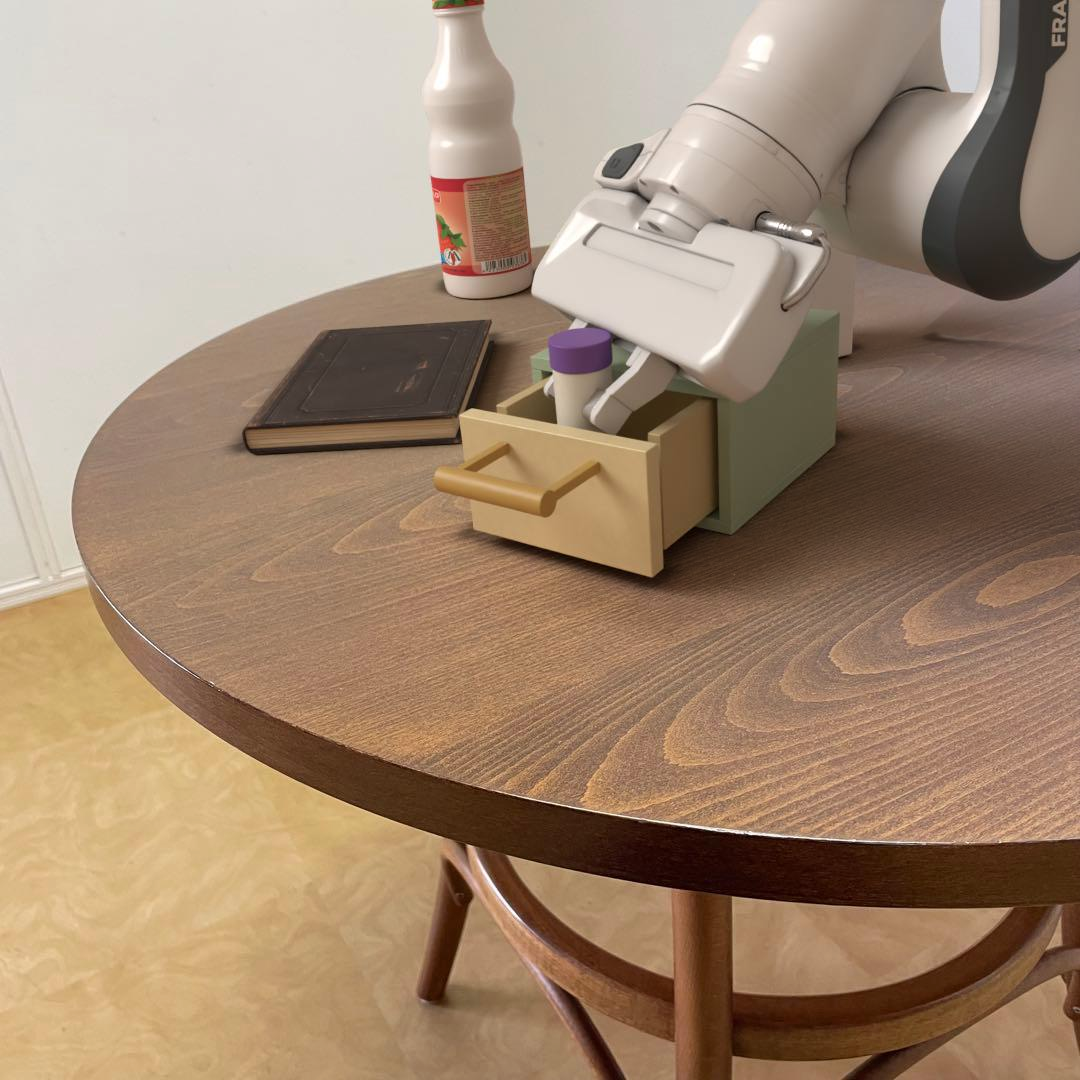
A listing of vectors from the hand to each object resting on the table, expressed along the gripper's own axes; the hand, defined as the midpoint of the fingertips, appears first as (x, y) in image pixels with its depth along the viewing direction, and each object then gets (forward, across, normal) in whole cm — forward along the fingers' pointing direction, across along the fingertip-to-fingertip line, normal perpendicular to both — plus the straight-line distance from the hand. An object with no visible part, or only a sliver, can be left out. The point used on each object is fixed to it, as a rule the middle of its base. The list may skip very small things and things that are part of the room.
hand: (575, 414), depth 62 cm
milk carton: (-15, +19, -27) cm, 36 cm away
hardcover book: (+6, +33, -5) cm, 34 cm away
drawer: (+4, 0, -6) cm, 7 cm away
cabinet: (-2, +5, -13) cm, 15 cm away
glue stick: (+3, 0, -4) cm, 5 cm away
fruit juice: (-8, +57, -20) cm, 61 cm away
